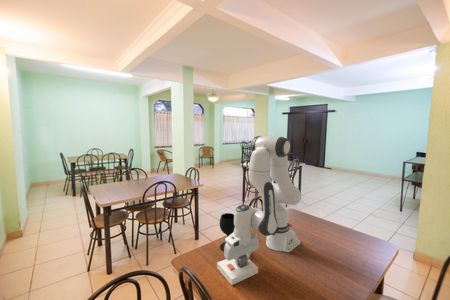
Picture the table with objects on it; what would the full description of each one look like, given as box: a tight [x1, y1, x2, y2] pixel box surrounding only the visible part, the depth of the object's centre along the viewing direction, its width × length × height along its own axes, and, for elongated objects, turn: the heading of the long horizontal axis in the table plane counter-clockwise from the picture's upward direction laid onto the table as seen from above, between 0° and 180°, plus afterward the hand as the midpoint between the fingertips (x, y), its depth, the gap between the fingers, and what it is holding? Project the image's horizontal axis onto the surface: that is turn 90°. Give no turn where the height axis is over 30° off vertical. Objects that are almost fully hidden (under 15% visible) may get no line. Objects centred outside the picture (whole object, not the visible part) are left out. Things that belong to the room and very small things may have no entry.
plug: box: [237, 254, 247, 268], centre depth 108 cm, size 4×4×7 cm
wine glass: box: [219, 212, 235, 252], centre depth 127 cm, size 10×10×20 cm
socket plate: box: [216, 258, 259, 286], centre depth 107 cm, size 16×14×4 cm
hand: (242, 261), depth 108 cm, fingers open, 5 cm apart
